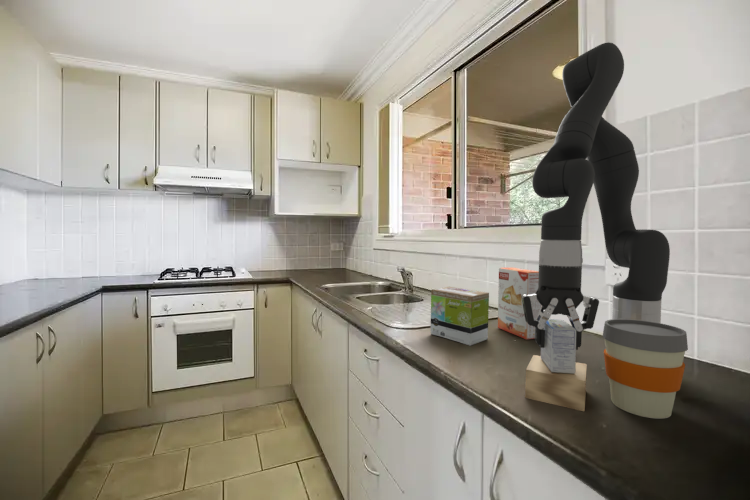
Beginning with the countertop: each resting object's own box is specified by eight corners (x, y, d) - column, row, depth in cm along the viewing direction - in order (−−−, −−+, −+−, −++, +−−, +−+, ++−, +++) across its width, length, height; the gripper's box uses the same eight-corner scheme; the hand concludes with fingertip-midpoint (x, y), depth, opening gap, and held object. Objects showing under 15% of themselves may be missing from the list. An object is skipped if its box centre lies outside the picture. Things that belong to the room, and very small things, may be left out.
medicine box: (575, 375, 66) (577, 329, 66) (550, 372, 67) (551, 327, 67) (562, 360, 74) (564, 319, 74) (539, 358, 75) (541, 318, 74)
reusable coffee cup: (592, 405, 66) (595, 326, 65) (609, 385, 75) (611, 315, 74) (680, 432, 57) (685, 341, 56) (687, 406, 66) (691, 327, 65)
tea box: (429, 335, 112) (429, 288, 111) (448, 329, 119) (449, 285, 118) (470, 346, 101) (471, 295, 100) (489, 339, 107) (490, 291, 107)
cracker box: (496, 328, 120) (497, 267, 119) (511, 327, 122) (512, 266, 121) (525, 340, 107) (527, 271, 106) (541, 338, 109) (543, 271, 108)
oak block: (585, 392, 72) (586, 364, 72) (584, 413, 64) (585, 381, 64) (532, 381, 78) (533, 354, 77) (525, 399, 69) (525, 369, 69)
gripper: (592, 262, 72) (589, 344, 73) (517, 260, 75) (515, 339, 75) (608, 265, 64) (605, 356, 65) (525, 263, 67) (522, 351, 68)
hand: (557, 347), depth 70 cm, fingers open, 5 cm apart
